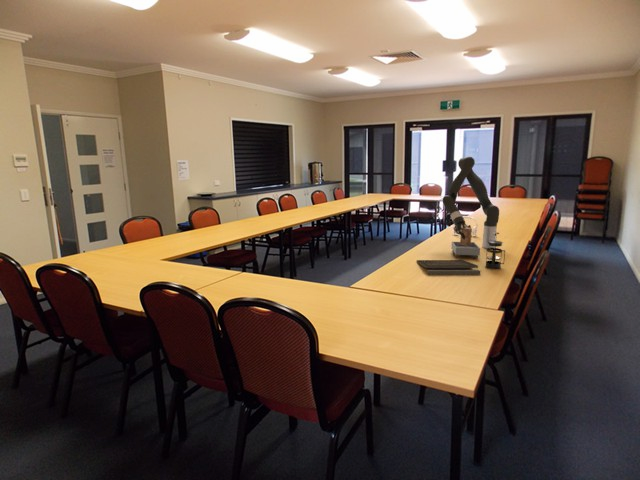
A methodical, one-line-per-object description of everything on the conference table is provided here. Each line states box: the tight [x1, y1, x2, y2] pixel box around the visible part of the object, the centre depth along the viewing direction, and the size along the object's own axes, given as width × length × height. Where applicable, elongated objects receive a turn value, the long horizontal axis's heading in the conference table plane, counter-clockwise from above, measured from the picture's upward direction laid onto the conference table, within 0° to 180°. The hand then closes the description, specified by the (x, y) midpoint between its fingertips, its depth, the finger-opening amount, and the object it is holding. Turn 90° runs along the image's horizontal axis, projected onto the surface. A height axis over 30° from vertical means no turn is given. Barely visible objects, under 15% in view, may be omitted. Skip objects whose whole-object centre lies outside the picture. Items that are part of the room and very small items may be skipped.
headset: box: [453, 215, 478, 237], centre depth 362 cm, size 20×7×18 cm, turn 64°
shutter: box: [416, 259, 481, 276], centre depth 263 cm, size 32×7×31 cm
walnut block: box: [459, 227, 473, 246], centre depth 291 cm, size 5×5×12 cm
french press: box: [484, 231, 506, 270], centre depth 261 cm, size 12×9×23 cm
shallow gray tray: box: [451, 241, 481, 260], centre depth 293 cm, size 16×20×8 cm
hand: (467, 238), depth 289 cm, fingers closed on walnut block, 5 cm apart
